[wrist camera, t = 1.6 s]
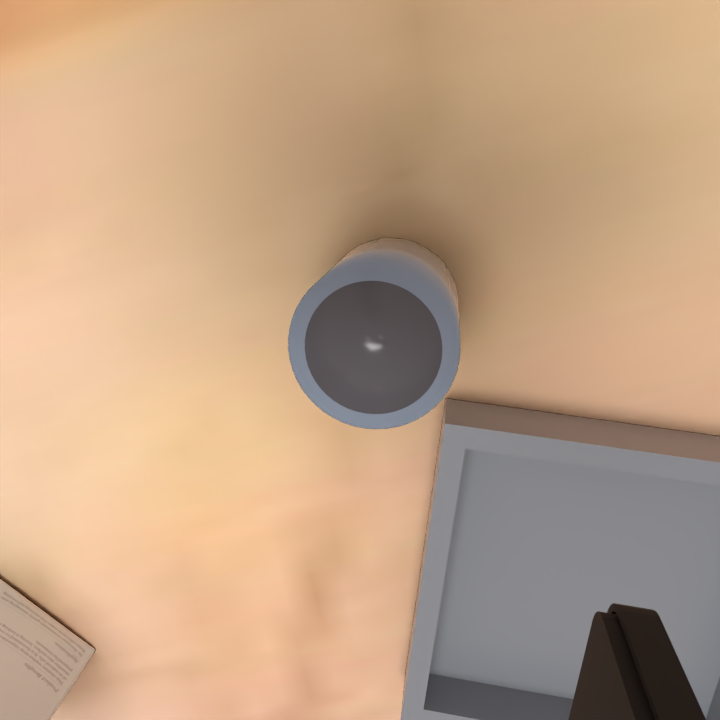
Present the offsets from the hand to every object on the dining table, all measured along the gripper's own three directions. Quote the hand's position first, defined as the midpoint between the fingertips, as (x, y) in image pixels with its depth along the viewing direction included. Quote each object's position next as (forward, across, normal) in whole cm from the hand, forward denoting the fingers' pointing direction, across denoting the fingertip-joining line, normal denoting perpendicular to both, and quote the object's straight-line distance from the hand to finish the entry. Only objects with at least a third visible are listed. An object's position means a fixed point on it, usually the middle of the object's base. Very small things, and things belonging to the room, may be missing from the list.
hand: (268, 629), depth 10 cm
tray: (+21, -11, +12) cm, 26 cm away
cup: (+21, 0, 0) cm, 21 cm away
